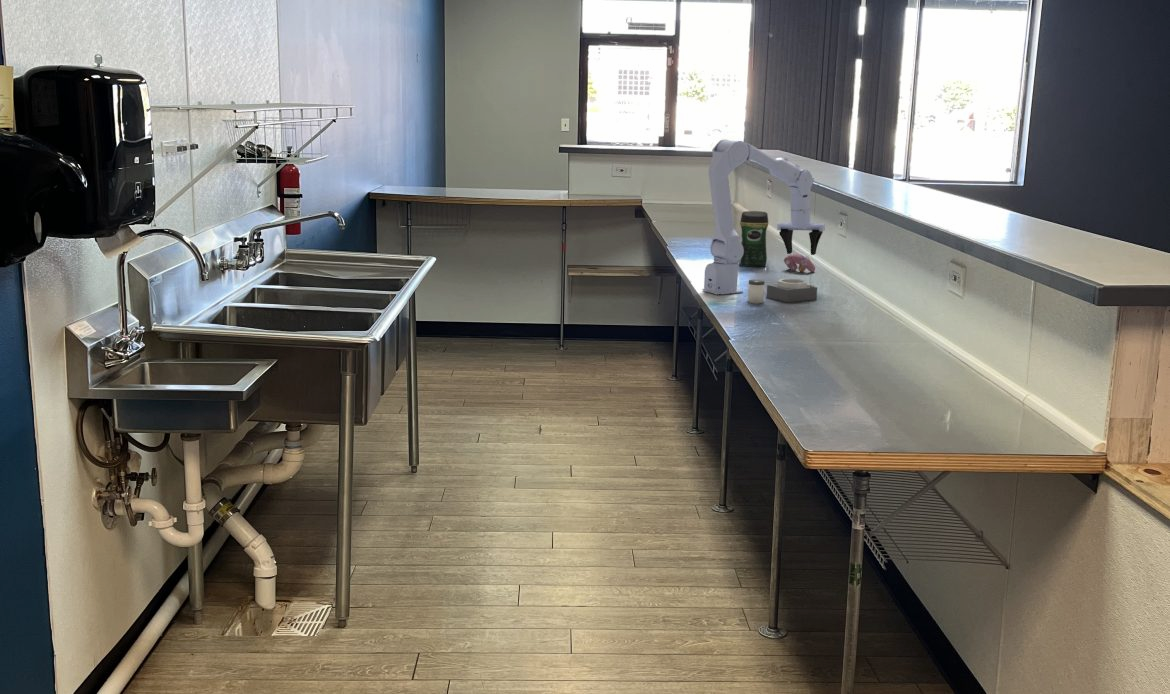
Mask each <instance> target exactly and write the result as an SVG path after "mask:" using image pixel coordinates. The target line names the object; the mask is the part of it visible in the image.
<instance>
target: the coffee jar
mask: <svg viewBox="0 0 1170 694" xmlns="http://www.w3.org/2000/svg"><path fill="white" fill-rule="evenodd" d="M768 215H769V214H768V212H767V211H760V210H749V211H748V210H747V211H743V212H742V213H741V217H740V221H739V225H740V229H741V236H740V237H741V239H740V243H741V244H742V246H743V249H744V253H743V256H742V258H741V259H740V260H739V263H738V265H740V266H744V267H754V268H755V267H764V266H765V267H766V265H767V263H768V262H767V261H768V256H767V254H768V253H767V229H768V227H769V216H768Z"/></svg>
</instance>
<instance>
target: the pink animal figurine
mask: <svg viewBox="0 0 1170 694" xmlns="http://www.w3.org/2000/svg"><path fill="white" fill-rule="evenodd" d="M783 262H784V264H785V266H787V268H788V269H791V271H793V270H794V272H795V271H796V270H797V269H798V272H800V271H802V273H803V272H805V271H806V269H807V270H808V271H809V272H811V273H815V270H816V266H815V264H813V262H812V261H811V259H810V258H809V257H808V256H804V255H802V254H799V253H798V254H797V253H795V254H794V253H793V254H792V253H790V254H787V256H786V257H784V259H783Z"/></svg>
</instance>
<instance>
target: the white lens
mask: <svg viewBox="0 0 1170 694" xmlns="http://www.w3.org/2000/svg"><path fill="white" fill-rule="evenodd" d="M764 295H765V280H764V279H763V280H762V279H749V280H748V291H747V302H748V303H749V302H751V303H750V304H764V299H765V296H764Z"/></svg>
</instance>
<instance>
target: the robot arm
mask: <svg viewBox="0 0 1170 694" xmlns="http://www.w3.org/2000/svg"><path fill="white" fill-rule="evenodd" d="M711 151H712V157H711V160H710V164H709V168H708V179H709V188H710V196H711V203H712V210H713V221H714V228H715V230H714V232H713V233H712V234H711V244H710V247H709V250H710V254H711V255H712V256H713V262H712V263H711V262H710V263H708V264H707V265H706V266H705V268H704V278H703V279H704V280H703V283H704V284H703V288H702V289H701V290H702V291H704V292H707V293H709V294H710V293H711V294H714V295H717V294H718V296H719V294H721V295H729V294H730V293H731V294H738V293H739V294H741V293H744V290H741V289H738V282H739V280H738V277H739V260H740V259H741V258H742V256H743V253H744V249H743V246H742V244H741V239H740V236H739V233H737V231H736V229H735V224H734V217H733V215H734V214H733V208H732V207H733V206H732V200H731V190H730V181H729V176H730V174H731V173H732V172H733V170H734V169H736V168H737V167H739V166H740V165H742V164H743V163H744V162H745V161H751V162H752V163H753V162H754V163H755V164H758V165H760V166H762V167H764V168H766V169H768V170H769V174H770V175H771V176H772V177H773V178H776V179H778V180H780V181H782V182H784V183H785V184H786V185H787V186H788V188H789V194H790V195H789V196H790V200H789V201H790V222H779V223H778V222H777V225H776V226H777V227H776V228H777V229H776V230H777V231H779V232H778V233H779V234H778V235H779V236H780V238H781V240H782V241H783V243H784V246H785V249H786V254H787V255H790V254H792V253H793V234H794V233H793V232H794V231H808V236H809V242H810V255H811V256H815V255H816V254H817V248H818V244H819V242H820V239H821V238H822V235H823V233H824V231H825V230H826V223H816V222H811V192H812V191H811V189H812V186H813V184H814V180H815V178H813V175H812V174H811V171H809V170H807V169H801V167H800V165H798V164H794V163H792V162H790V161H788V160H789V158H787V157H776V158H774V157H772V156H770V155H769V154H767V153H766V152H764V151H762V150H760V149H759V148H757V147H755V146H754V145H752V144H751V143H746V142H745V141H742V140H730V139H729V140H728V139H721V140H719V141H718V142H717V143H716V144H715V145H714V147H713V148H712V149H711ZM809 231H810V232H809ZM731 294H730V295H731Z"/></svg>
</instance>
